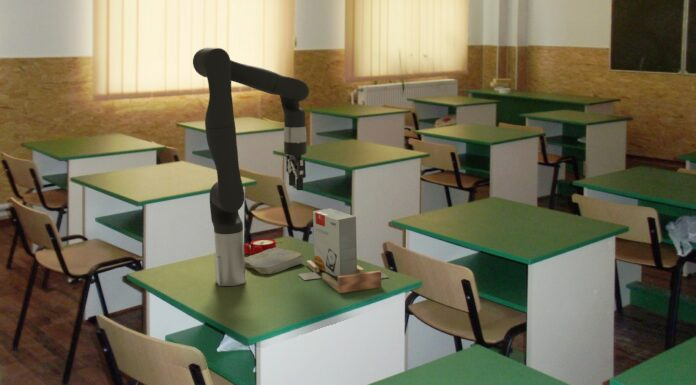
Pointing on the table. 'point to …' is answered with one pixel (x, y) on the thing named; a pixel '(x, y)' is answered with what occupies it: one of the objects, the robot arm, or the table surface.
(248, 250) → the alarm clock
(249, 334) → the table surface
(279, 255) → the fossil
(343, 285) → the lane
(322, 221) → the hard drive box
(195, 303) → the table surface
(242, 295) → the table surface
